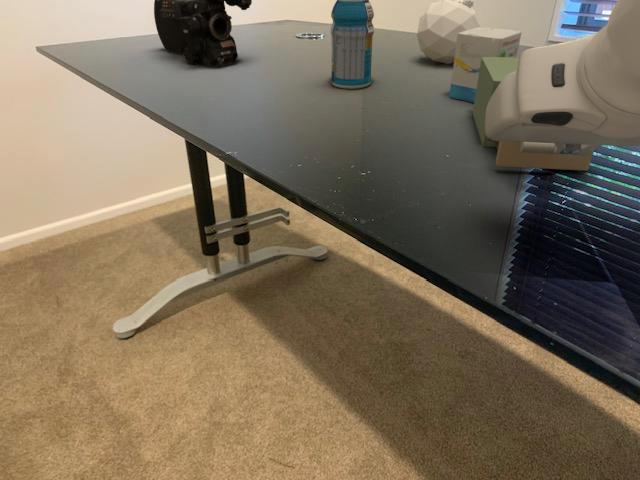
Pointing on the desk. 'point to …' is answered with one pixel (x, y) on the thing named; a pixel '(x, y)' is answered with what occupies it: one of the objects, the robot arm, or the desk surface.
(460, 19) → the geodesic sphere
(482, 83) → the green nightstand
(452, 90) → the ink box
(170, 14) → the movie camera
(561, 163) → the drawer
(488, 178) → the desk surface
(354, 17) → the beverage bottle
